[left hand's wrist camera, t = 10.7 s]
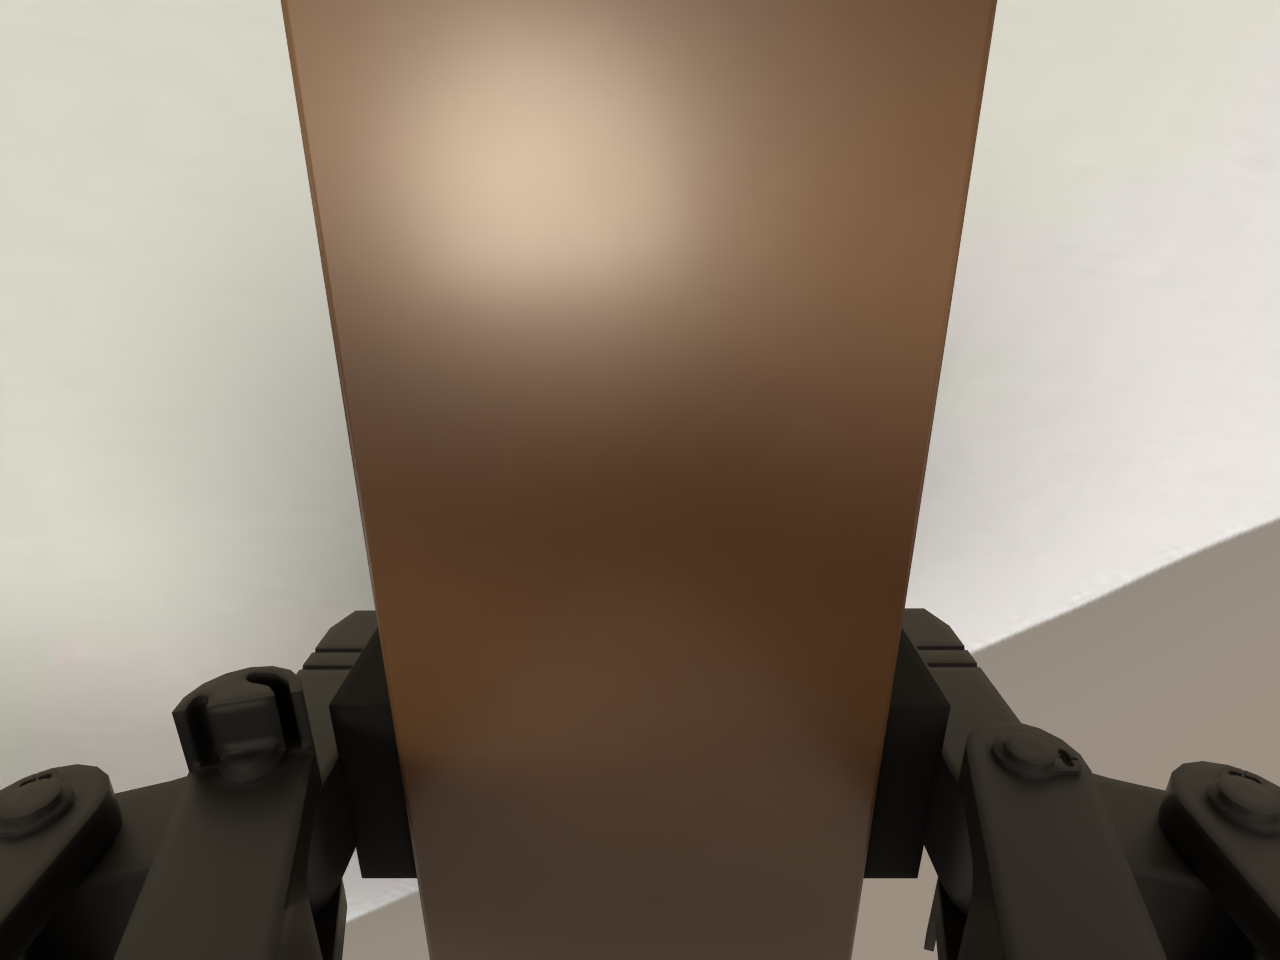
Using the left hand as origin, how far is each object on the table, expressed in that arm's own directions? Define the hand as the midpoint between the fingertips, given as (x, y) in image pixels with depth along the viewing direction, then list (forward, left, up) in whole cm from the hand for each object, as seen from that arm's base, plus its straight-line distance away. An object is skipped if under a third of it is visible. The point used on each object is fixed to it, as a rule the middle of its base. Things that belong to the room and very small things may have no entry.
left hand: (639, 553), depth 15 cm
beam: (+14, +24, -1) cm, 28 cm away
